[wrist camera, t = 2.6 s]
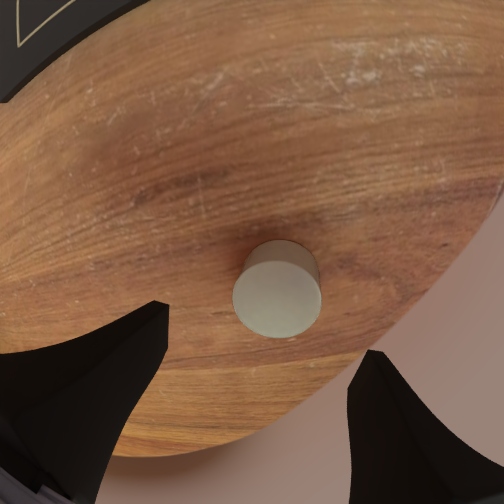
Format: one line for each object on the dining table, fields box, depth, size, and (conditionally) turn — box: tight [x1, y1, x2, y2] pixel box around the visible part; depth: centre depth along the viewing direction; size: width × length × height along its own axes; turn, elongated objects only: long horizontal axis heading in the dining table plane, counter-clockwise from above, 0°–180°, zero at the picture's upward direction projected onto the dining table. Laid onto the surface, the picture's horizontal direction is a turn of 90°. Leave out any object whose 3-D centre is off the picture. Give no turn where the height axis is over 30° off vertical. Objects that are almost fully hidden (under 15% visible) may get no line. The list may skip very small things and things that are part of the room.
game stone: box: [232, 240, 322, 338], centre depth 16 cm, size 4×4×3 cm
